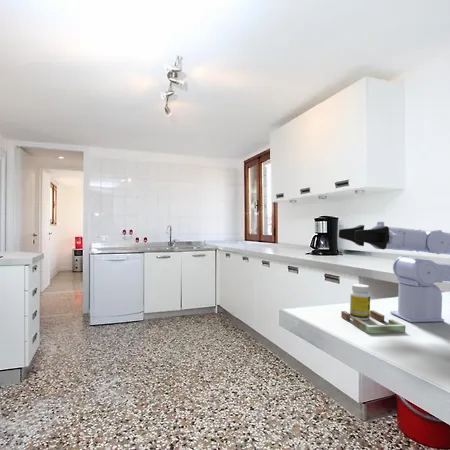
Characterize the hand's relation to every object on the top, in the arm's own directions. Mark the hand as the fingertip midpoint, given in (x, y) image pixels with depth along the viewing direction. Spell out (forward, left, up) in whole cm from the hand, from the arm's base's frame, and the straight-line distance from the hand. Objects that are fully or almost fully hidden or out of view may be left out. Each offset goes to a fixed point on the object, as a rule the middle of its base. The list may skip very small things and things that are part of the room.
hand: (346, 234), depth 80 cm
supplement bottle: (-5, -1, -22) cm, 22 cm away
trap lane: (-5, +4, -22) cm, 22 cm away
